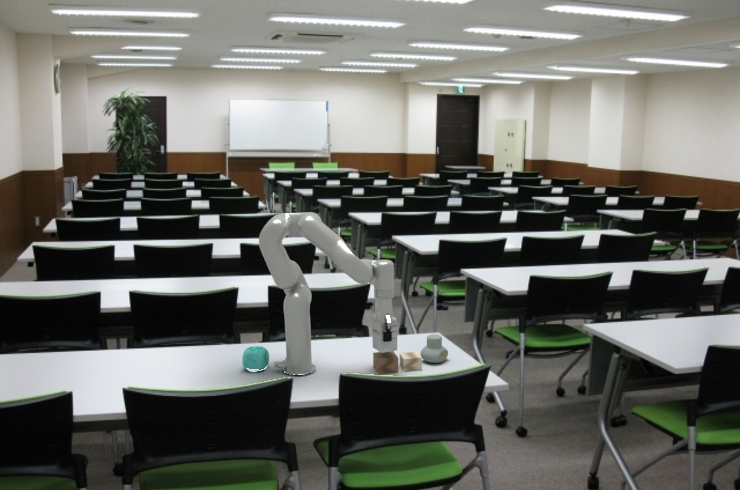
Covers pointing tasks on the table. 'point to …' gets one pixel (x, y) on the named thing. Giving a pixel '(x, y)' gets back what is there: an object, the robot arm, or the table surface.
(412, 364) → the maple block
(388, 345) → the supplement box
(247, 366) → the teal rounded cube
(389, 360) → the walnut block
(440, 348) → the air freshener
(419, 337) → the table surface
